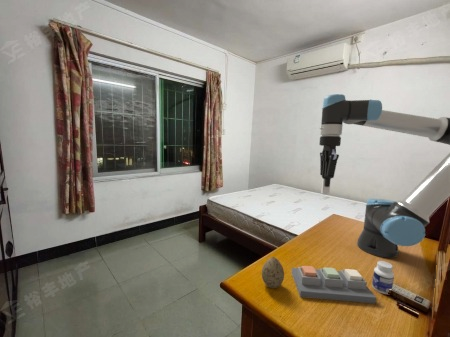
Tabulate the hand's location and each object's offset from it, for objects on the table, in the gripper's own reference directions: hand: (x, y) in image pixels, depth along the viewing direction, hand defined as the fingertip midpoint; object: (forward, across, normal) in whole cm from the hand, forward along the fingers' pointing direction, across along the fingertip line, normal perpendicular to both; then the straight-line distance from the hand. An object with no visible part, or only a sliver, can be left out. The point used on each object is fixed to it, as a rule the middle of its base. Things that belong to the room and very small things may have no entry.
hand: (324, 193), depth 87 cm
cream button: (+24, +21, +3) cm, 32 cm away
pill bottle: (+27, +20, +13) cm, 36 cm away
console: (+26, +21, -4) cm, 34 cm away
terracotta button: (+24, +21, -11) cm, 34 cm away
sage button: (+24, +21, -4) cm, 32 cm away
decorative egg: (+27, +23, -23) cm, 42 cm away
